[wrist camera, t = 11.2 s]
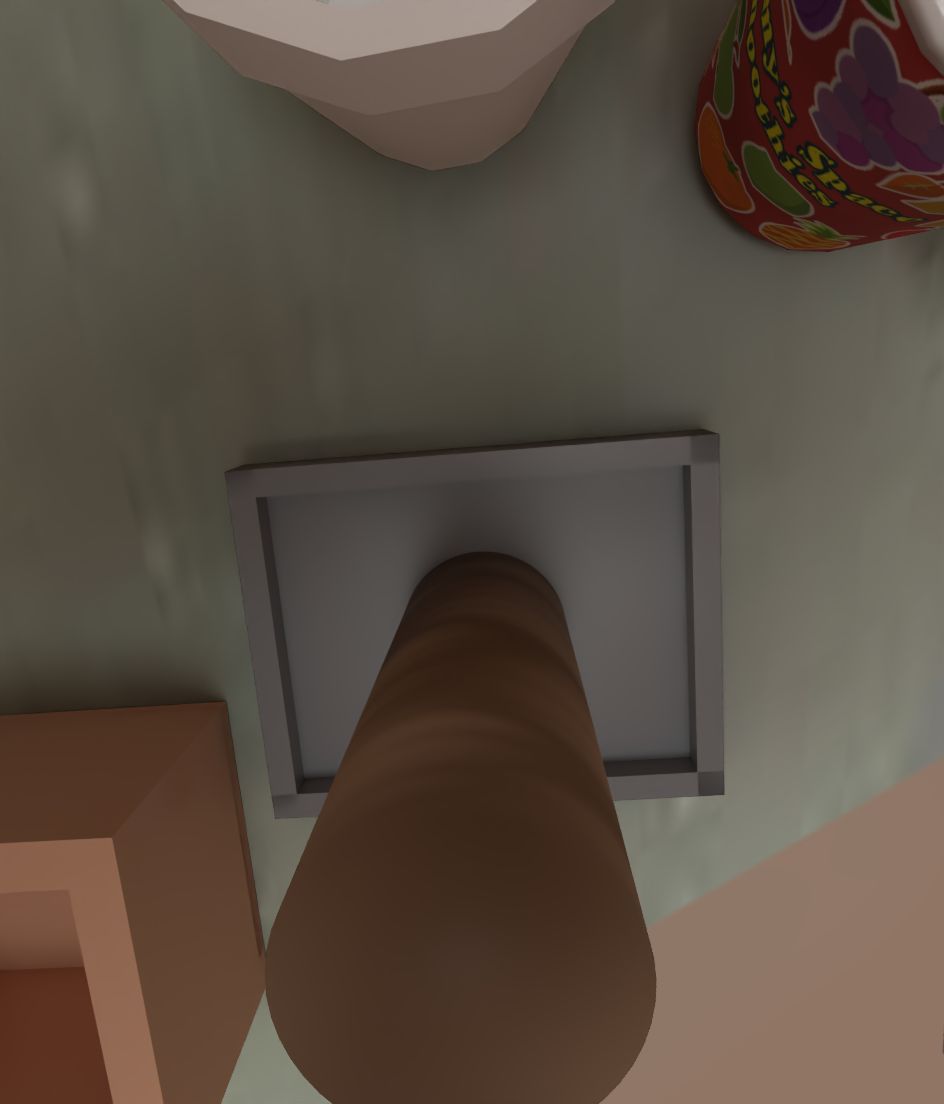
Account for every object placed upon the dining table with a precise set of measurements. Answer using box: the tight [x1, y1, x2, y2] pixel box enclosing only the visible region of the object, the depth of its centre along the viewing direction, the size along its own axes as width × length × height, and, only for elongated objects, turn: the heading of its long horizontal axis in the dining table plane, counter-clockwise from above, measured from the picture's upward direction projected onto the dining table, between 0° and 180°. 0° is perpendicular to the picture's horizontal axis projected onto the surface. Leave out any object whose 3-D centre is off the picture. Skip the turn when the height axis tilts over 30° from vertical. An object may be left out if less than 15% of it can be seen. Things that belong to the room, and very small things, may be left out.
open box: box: [0, 702, 266, 1104], centre depth 24 cm, size 11×11×8 cm
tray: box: [225, 429, 724, 819], centre depth 25 cm, size 14×11×2 cm
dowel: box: [265, 552, 656, 1104], centre depth 18 cm, size 5×5×15 cm
